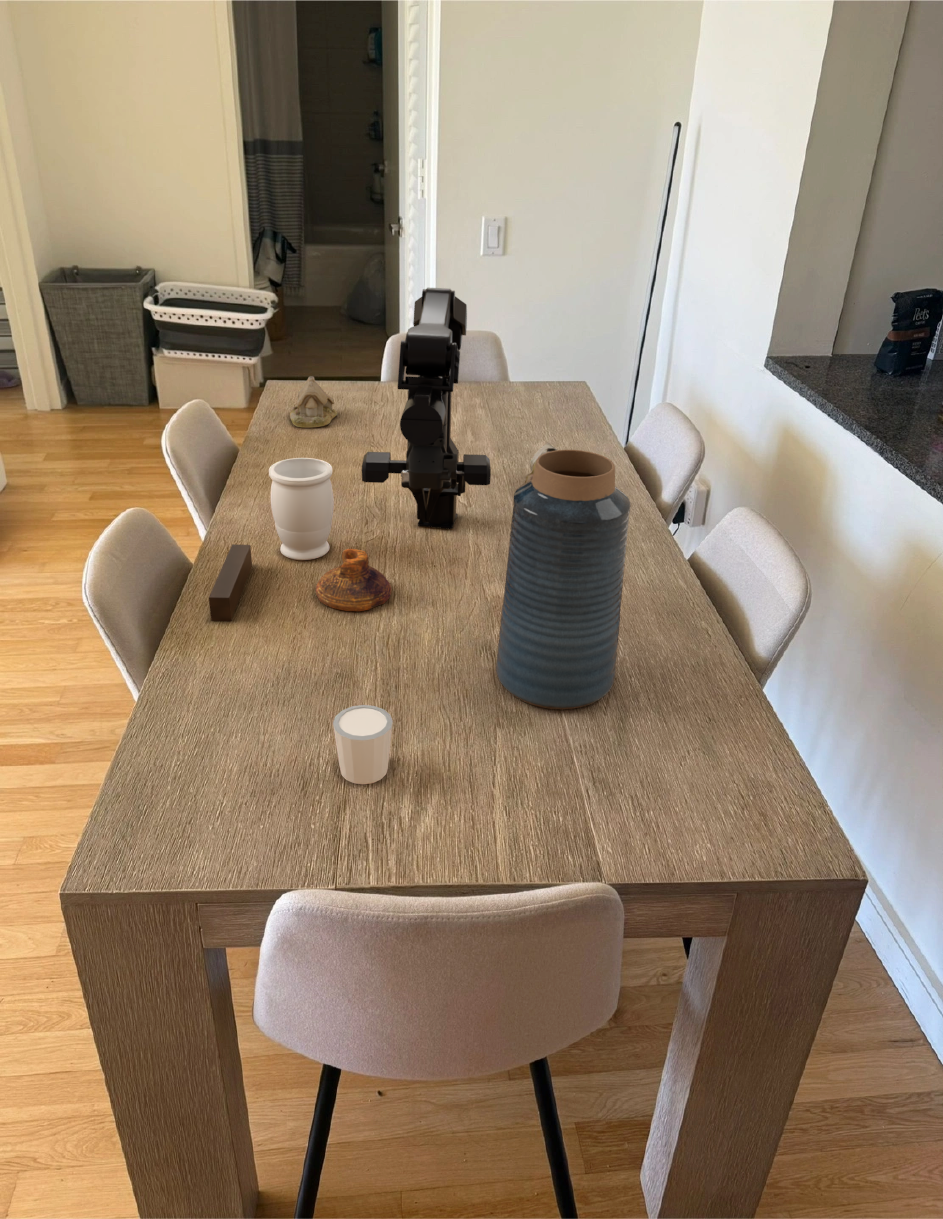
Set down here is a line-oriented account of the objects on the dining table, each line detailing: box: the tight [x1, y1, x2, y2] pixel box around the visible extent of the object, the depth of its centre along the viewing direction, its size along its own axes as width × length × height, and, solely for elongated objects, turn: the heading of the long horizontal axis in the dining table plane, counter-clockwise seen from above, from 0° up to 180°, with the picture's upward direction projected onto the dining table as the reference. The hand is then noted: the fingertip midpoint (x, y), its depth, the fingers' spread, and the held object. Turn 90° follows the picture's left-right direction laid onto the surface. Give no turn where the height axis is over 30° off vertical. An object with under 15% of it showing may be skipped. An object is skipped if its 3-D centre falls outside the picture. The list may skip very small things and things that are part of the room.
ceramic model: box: [289, 375, 338, 428], centre depth 221 cm, size 14×11×10 cm
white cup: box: [332, 704, 394, 785], centre depth 111 cm, size 7×7×7 cm
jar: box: [268, 457, 335, 561], centre depth 159 cm, size 11×10×15 cm
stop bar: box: [208, 544, 253, 622], centre depth 148 cm, size 3×18×4 cm, turn 2°
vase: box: [495, 449, 632, 710], centre depth 123 cm, size 16×16×32 cm
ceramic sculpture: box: [524, 441, 558, 483], centre depth 189 cm, size 11×9×15 cm
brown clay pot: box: [315, 548, 393, 612], centre depth 148 cm, size 12×12×7 cm
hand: (425, 521), depth 144 cm, fingers closed
